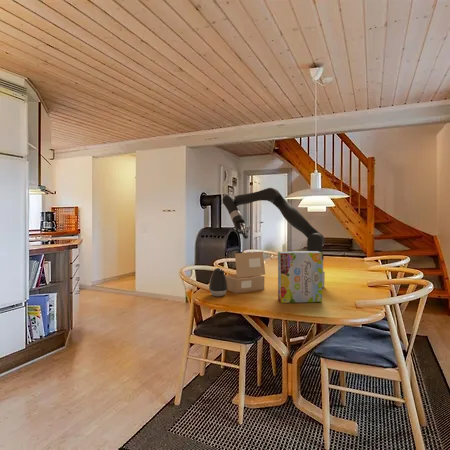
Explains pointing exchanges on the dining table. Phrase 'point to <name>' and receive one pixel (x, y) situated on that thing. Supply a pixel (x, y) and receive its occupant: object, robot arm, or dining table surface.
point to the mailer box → (244, 283)
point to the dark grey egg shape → (218, 283)
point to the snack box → (300, 276)
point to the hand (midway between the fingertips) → (246, 238)
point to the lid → (249, 264)
